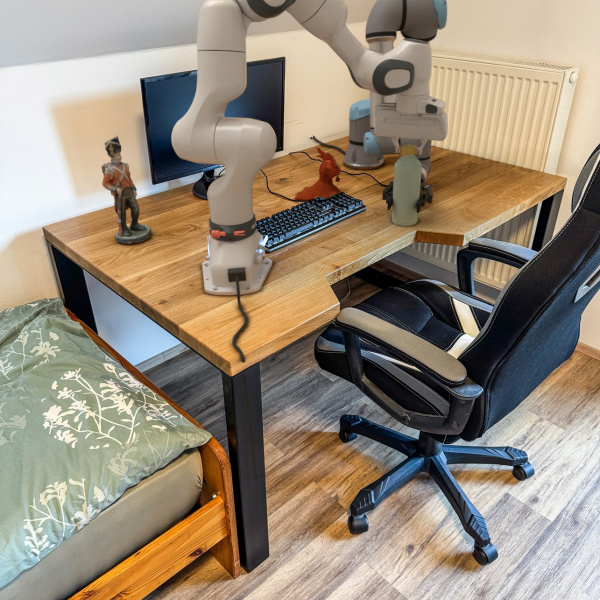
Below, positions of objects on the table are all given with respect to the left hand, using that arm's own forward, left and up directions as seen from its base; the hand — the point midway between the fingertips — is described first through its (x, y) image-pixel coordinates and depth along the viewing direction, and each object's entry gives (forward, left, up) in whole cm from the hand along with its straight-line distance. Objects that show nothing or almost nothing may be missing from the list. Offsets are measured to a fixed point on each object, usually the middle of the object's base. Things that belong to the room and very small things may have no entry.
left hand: (408, 153), depth 160 cm
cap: (0, 0, +2) cm, 2 cm away
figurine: (-5, +82, -21) cm, 85 cm away
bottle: (0, 0, -21) cm, 21 cm away
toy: (+24, +26, -21) cm, 40 cm away
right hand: (-5, +1, -14) cm, 15 cm away
